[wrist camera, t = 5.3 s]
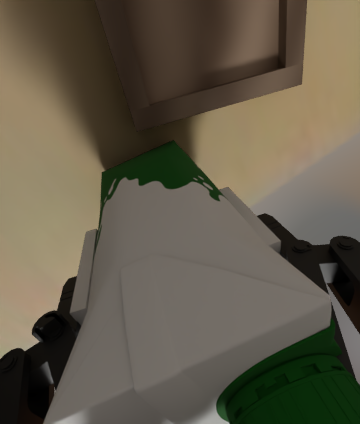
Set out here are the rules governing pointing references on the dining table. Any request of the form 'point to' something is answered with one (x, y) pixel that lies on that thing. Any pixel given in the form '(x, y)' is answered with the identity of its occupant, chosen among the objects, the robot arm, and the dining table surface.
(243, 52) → the walnut tray
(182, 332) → the soya milk
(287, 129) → the dining table surface
